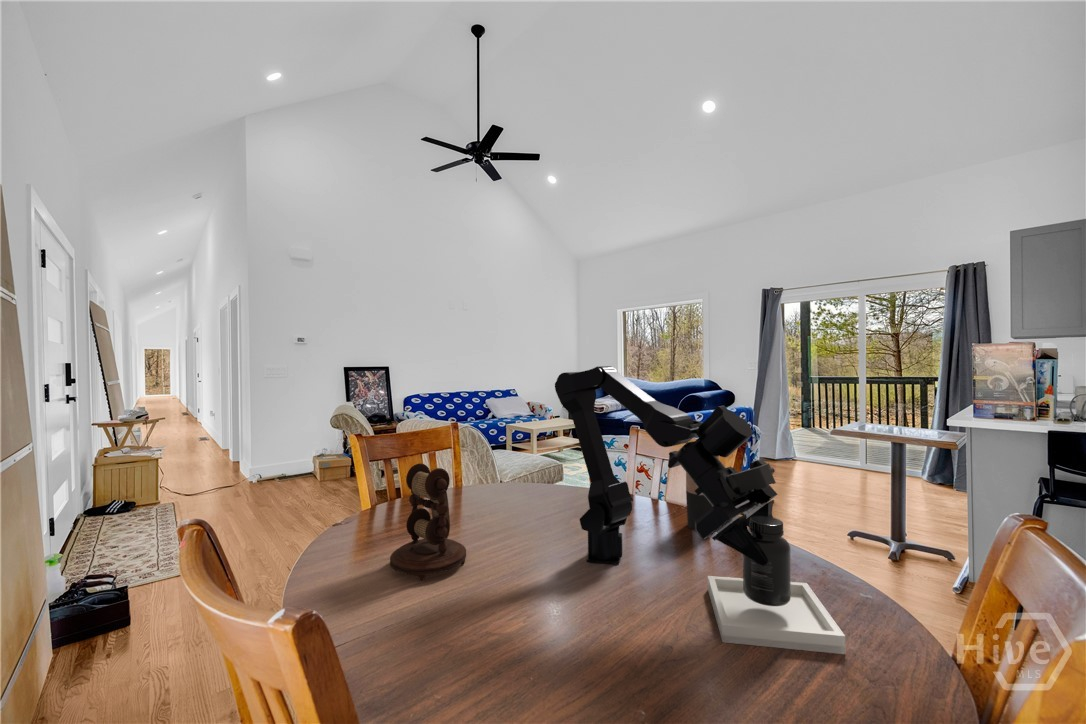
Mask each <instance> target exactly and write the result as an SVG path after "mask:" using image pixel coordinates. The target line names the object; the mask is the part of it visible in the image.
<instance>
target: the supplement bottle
mask: <svg viewBox="0 0 1086 724" xmlns="http://www.w3.org/2000/svg"><path fill="white" fill-rule="evenodd" d="M748 530H749V532H750V533H751V535H752V537H753V538H754V540H755V541H756V543H757V544H758V546H759V547H760V549H761V550H762V552H763V553H764V555H765V557H766V558H767V560H768V563H767V564H766V565H764V566H762V565H760V564H758V563H757V562H755V561H753V560H752V559H750V558H748V557H747V556H745V555H743V554H742V578H743V591H744V594H745V595H746V596H747V597H748V598H749V599H750V600H752V601H754V602H756V603H759V604H762V605H767V606H783V605H786V604H787V603H788V602H789V601H790V598H791V582H792V581H791V580H792V579H791V578H792V576H791V575H792V574H791V572H792V569H791V568H792V566H791V564H792V563H791V561H792V558H791V545H790V543H789V542H788V540H787V539H786V538H784V537H783V536H784V534H785V533H784V522H783V521H782V520H780V519H779V518H776V517H773V518H772V517H766V516H754V517H751V518H750V526H749V527H748Z"/></svg>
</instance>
